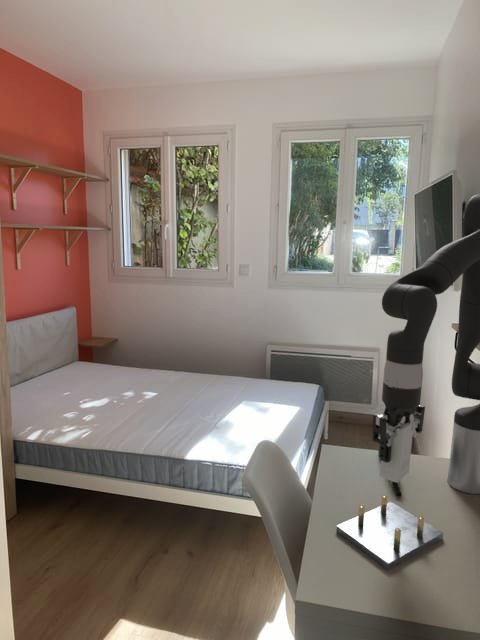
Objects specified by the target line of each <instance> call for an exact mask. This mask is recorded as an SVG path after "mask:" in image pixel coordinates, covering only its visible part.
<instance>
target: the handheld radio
mask: <svg viewBox="0 0 480 640" xmlns="http://www.w3.org/2000/svg"><path fill="white" fill-rule="evenodd" d="M377 446H378V449H377V450H378V451H377V452H378V454H379V452H380V444H379V443H378V445H377ZM387 480H388V479H387ZM388 483H389V486H390V487H393V489H394V490H393V491H394V492H395V495H396V497H399V498H400V497H401V496H402V495H403V494H402V492H401V489H400V484H401V480H400V481H399V482H398V483H396V482H393V481H390V480H388Z"/></svg>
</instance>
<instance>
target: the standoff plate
mask: <svg viewBox="0 0 480 640" xmlns="http://www.w3.org/2000/svg"><path fill="white" fill-rule="evenodd" d="M365 510H366V509H365V505H359V506H358V515H357V516H355V517H353V518H351V519H348V520H346V521H344V522H342V523H339V524H337V525H336V533H337V534H339V536H341V537H343V538H344V539H345V540H347V541H349V542H350V544H352V545H353V546H354V547H356V548H358V549H359V550H360V551H361V552H362V553H364V554H366V555H367V556H368V557H370V558H371V559H372V560H373V561H374V562H376V563H377V564H379V565H380V566H381V567H383V568H384V569H386V570H387V571H390V570H392V569H393V568H394V567H397V566H399V564H402V563H403V562H405V561H407V560H409V559H410V558H412V557H414V556H416V555H418V554H419V553H421V552H423V551H424V550H427V549H428V548H429V547H431V546H433V545H435V544H436V543H439V542H441V541H442V540H444V539H443V538H444V532H443V531H442V530H440V529H438V528H436V527H435V526H432V525H431V524H429V523H427V522H426V521H425V518H424V517H422V516H418V517H417V515H414V514H412V513H411V512H409V511H408V510H405V508H404V509H403V508H402V507H401V506H399V505H397V504H395V503H394V502H392V501H389V502H388V496H387V495H381V504H380V506H377V507H375V508H373V509H371V510H369V511H366V512H365Z"/></svg>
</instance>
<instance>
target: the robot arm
mask: <svg viewBox="0 0 480 640" xmlns="http://www.w3.org/2000/svg"><path fill="white" fill-rule="evenodd" d="M463 214H464V215H463V219H462V223H463V224H462V234H463V235H462V237H461V238H459V239H456V240H454V241H451V242H450V243H447V244H446V245H444V246H442V247H441V248H439V249H438V250H436V251H435V252H434V253H432V255H431V256H429V258H427V260H426V261H424V262H423V263H422V265H420V266H419V267H418V268H416V269H414V270H412V271H411V272H410V271H409V272H408V273H407V274H404V275H403V276H402V277H400V278H398V279H396V280H395V281H394V282H392V283H391V284H390V285H389V286H388V287H387V288H386V290H385V291H384V293H383V296H382V298H381V299H382V300H381V307H382V310H383V311H384V313H385V314H386V315H388V316H389V317H391V318H395V319H400V320H406V324H405V326H404V329H399V330H393V331H391V332H389V334H388V335H387V337H388V338H387V343H386V344H387V345H386V353H385V354H386V355H385V363H384V367H383V378H382V392H381V401H382V403H383V404H384V406H385V407H384V411H383V413H381V414H380V415H379V414H377V413H375V414H374V415H373V416H372V441H373V442H374V443H377V444H378V445H379V444H380V452H379V453H378V456H379V459H380V461H381V460H382V461H384V462H386V463H388V462H390V459H391V444H392V441H393V439H394V437H396V436H397V429H398V428H399V427H401V426H402V425H403V424H405V423H410V424H411V427H412V431H413V436H412V446H411V454H413V452H414V443H415V439H416V437H417V434H420V433H422V431H423V427H424V425H423V424H424V419H425V411H426V406H424V405H421V399H422V398H421V396H422V387H423V386H422V385H423V377H424V375H423V374H424V373H423V371H424V370H423V369H424V368H423V362H424V361H423V360H424V347H425V342H426V339H427V336H428V335H429V332H430V329H431V326H432V323H433V321H434V319H435V316H436V312H437V310H438V300H437V295H441V294H443V293H445V292H446V291H447V290H448V289H449V288H450V287H452V285H453V284H454V283H455V282H456V281H457V280H458V279H459V277H461V275H462V279H461V289H460V296H459V297H460V298H459V308H458V328H457V329H458V330H457V342H456V348H455V354H454V355H455V356H454V363H453V369H452V377H451V389H452V393H453V395H454V396H456V397H459V398H464V399H469V400H476V401H480V363H478V362H477V363H474V362H469V359H470V357H471V355H472V354H473V353H474V350H475V349H476V348H477V347H478V346H479V344H480V193H479V194H478V193H477V194H475V195H473V196H471V197H470V199H469V200H468V201H467V203H466V206H465V209H464V212H463ZM416 423H417V424H416ZM388 424H389V425H391V426H393V427H395V428H394V430H393V431H390V430H388V429H386V425H388ZM386 433H388V434H389V437H388V439H386ZM451 435H452V436H451V444H450V452H449V453H450V454H449V462H448V463H449V464H448V470H447V471H448V473H447V483H448V484H449V485H450V486H451V488H454V489H455V490H456V491H457V490H458V491H460V492H462V493H466V494H472V495H480V403H477V404H476V405H472V406H465V407H460V408H458V409H456V410H455V412H454V416H453V426H452V434H451Z"/></svg>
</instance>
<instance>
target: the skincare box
mask: <svg viewBox="0 0 480 640" xmlns="http://www.w3.org/2000/svg"><path fill="white" fill-rule="evenodd" d="M394 428H395V427H393V426H391V425H389V424H388V425H386V429H388V430H390V431H393V430H394ZM412 436H413V431H412V427H411V424H410V423H405V424H403V425H402V426H401V427H399V428H398V429H397V436H396V437H394V439H393V441H392V444H391V459H390V462H388V463H386V462H384V461H382V460H380V467H379V468H380V469H379V477H381V478H383V479H386V480H390V481H393V482H396V483H398V482H399V481H400V482H401V480H402V479H404V477H406V475H408V474H409V473H410V466H411V465H410V464H411V456H412V453H411V446H412ZM388 437H389V434H388V433H386V439H388Z"/></svg>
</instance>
